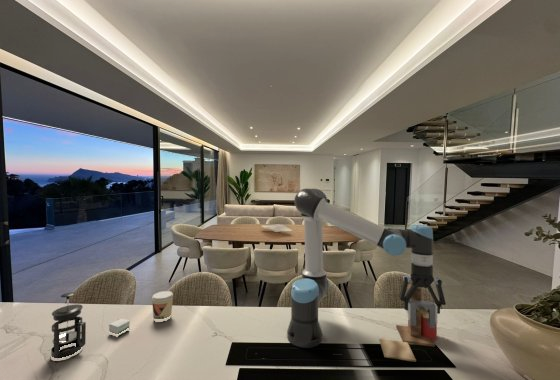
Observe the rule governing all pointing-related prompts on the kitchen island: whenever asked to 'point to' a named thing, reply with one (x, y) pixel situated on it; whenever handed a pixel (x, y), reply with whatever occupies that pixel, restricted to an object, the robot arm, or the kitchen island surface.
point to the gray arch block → (422, 305)
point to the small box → (119, 326)
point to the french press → (69, 337)
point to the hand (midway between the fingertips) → (421, 319)
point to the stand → (414, 332)
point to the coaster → (397, 350)
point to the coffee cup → (162, 304)
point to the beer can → (428, 329)
